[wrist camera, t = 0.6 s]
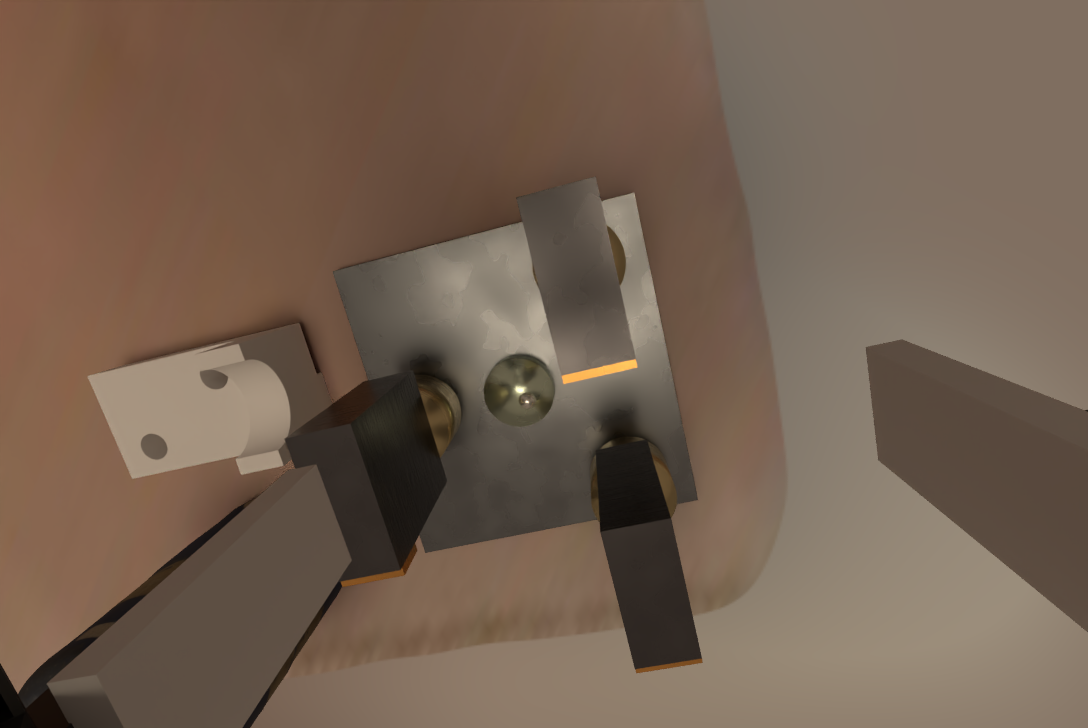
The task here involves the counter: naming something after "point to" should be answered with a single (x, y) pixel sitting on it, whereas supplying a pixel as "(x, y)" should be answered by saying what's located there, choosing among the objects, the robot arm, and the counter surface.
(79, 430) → the counter surface
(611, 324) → the dark grey block
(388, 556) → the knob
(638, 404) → the level plate
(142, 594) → the canister
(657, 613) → the brass knob with block
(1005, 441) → the robot arm
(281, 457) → the bracket
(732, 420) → the counter surface
